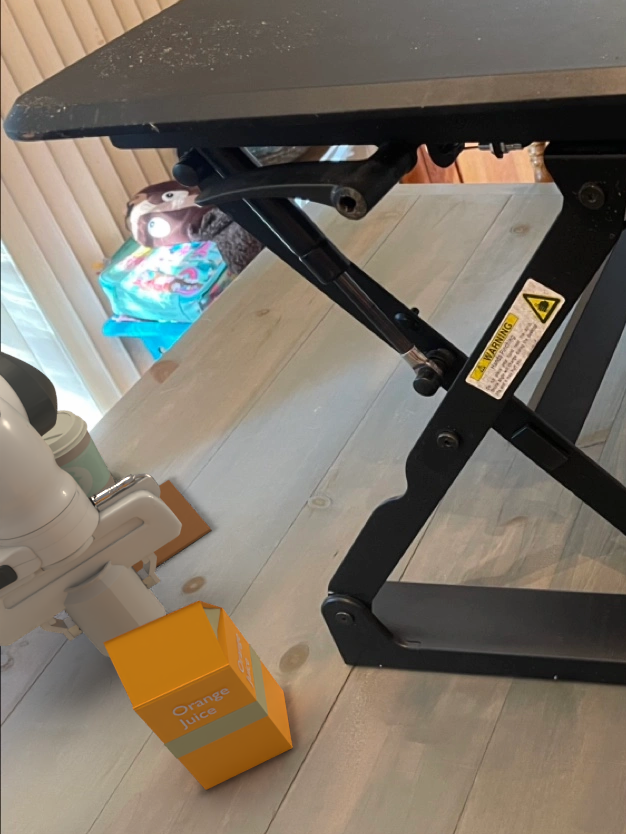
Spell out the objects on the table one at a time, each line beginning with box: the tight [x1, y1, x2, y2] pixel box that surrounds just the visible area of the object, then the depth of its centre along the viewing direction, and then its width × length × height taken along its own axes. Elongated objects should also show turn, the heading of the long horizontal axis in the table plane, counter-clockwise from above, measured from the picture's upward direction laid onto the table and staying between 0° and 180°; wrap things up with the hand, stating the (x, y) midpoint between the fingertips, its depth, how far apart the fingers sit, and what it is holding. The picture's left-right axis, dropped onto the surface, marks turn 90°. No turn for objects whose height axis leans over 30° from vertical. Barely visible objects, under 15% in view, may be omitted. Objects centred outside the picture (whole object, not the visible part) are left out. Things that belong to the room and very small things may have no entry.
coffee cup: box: [42, 409, 116, 498], centre depth 139 cm, size 9×9×12 cm
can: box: [63, 561, 167, 658], centre depth 116 cm, size 8×8×12 cm
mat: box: [132, 479, 212, 572], centre depth 135 cm, size 14×14×1 cm
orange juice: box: [103, 600, 294, 791], centre depth 103 cm, size 8×9×20 cm
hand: (114, 608), depth 117 cm, fingers closed on can, 7 cm apart
